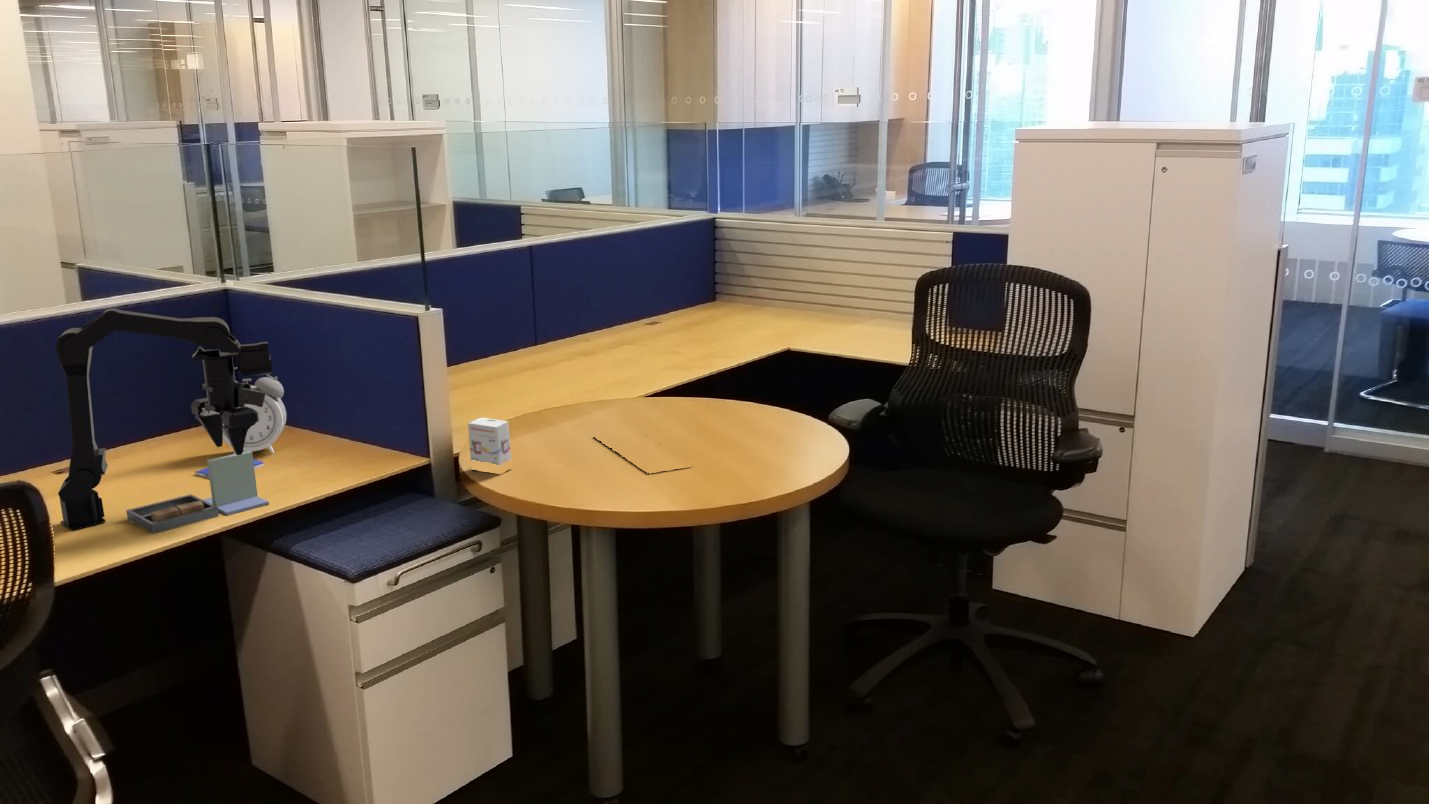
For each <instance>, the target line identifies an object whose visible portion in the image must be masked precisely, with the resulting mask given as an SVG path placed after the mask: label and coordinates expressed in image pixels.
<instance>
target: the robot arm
mask: <svg viewBox="0 0 1429 804" xmlns="http://www.w3.org/2000/svg"><path fill="white" fill-rule="evenodd" d="M115 331H121V332H129V333H136V334H143V335H152V336H159V337H168V338H173V339H179V340H184V341H186V342H188V343H191V344H193V345H197V346H198V347H197V348H198V349H197V350H196V351H195V352H194V353H193V354H192V355H191V360H192V361H202V366H203V374H204V382H205V383H201V386H202V390H205V391H206V396H207V397H203V398H199V399H194V400H193V401H192V403H191V404H190V408H191V409H190V410H191V414H193V415H194V416H195V419H197V420H198V421H199V424H201V426H202V428H203V429H204V430H205V432H206V433H207V434H208V436H209V438H210V439H211V441H212V443H213V444H214V445H215V446H216V448H221V447H223V444H224V443H223V442H224V440H223V429H224V431H225V433H226V435H227V437H228V439H229V441H230V443H231V445H232V447H231V448H232V450H233V452H234V451H235V453H236V455H241V454H242V453H243V452H244V451H243V448H244V443H245V438H246V434H247V431H248V429H249V428H250V427H251V426H253V425H255V424H256V422H258V421H259V416H258V412H257V411H255V410H254V409H252V408H249V407H244V406H245V404H250V405H257V406H258V407H263V403H264V399H265V394H266V393H264V392H261V391H258V390H254V389H251V386H252V385H251V384H249V383H248V384H247V383H246V382H239V381H237V380H236V376H235V369H234V368H235V366H234V359H233V358H235V360H236V367H237V369H236V370H237V373H240V374H243V377H252V376H254V377H255V376H263V375H266V374H268V375H272V374H273V367H272V360H271V359H272V358H271V355H270V349H269V342H267V341H260V342H258V343H246V344H241V342H239V340H238V339H236V337H235V336H234V335H232V334H231V332H230V327H229V325H228V324H227V323H226V321H225V320H224V319H222V318H220V317H217V316H216V317H215V316H207V317H206V316H205V317H201V316H198V317H189V318H188V317H187V318H179V317H171V316H164V315H160V314H159V315H158V314H151V313H143V312H138V311H137V312H135V311H129V310H122V309H118V308H115V307H111V308H107V309H106V310H104V312H102V314H100V315H97V316H96V317H95V318H93V319H92V320H90V321H88V322H87V323H85V324H84V325H83V326H81V327H73V328H72V327H71V328H68V329H66V330H65V331H63V333H62V334H61V335H60V336H59V338H58V339H57V341H56V343H55V351H56V355H57V357H58V361H59V364H60V366H61V368H62V371H63V374H64V376H65V379H66V388H67V399H68V409H69V418H70V421H69V422H70V429H71V441H72V448H71V454H70V460H69V469H68V476H67V477H66V478H65V479H64V480H63V482H62V485H61V486H60V489H59V491H58V492H57V495H58V496H59V502H60V510H61V515H62V520H60V524H61V525H62V526H64V527H66V528H67V529H68V530H70V531H76V530H79V529H83V528H87V527H92V526H95V525H99V524H104V523H106V519H105V518H104V517H105V511H104V510H105V509H104V504H103V499H102V498H101V497H100V496H99V492H98V491H97V490H94V489H95V488H96V487H97V486H99V484H100V482H101V481H102V478H103V476H104V475H106V472H107V470H108V469H107V468H108V466H109V465H108V463H107V461H106V454H107V453H106V452H107V451H106V449H107V448H106V447H101V448H99V447H98V445H97V443H96V439H95V429H94V419H93V418H94V417H93V406H92V395H91V386H90V385H91V384H90V370H91V369H90V367H91V363H92V362H91V361H92V354H93V347H94V346H95V345H96V344H98V343H99V342H101V341H102V340H103V339H104V338H106V337H107V336H108V335H110V334H111V333H113V332H115ZM204 348H207V349H204ZM220 349H221V350H222V351H224V352H221V350H220ZM236 381H237V382H236ZM236 407H241V408H236ZM223 424H224V425H225V426H223Z"/></svg>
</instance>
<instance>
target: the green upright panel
mask: <svg viewBox="0 0 1429 804" xmlns="http://www.w3.org/2000/svg"><path fill="white" fill-rule="evenodd" d="M253 454H254V453H253V452H251V451H243V453H242V454H241V455H236V454H234V453H233V454H232V453H231V454H228V455H224V456H220V457H215V458H211V459H207V460H206V463H207V468H208V471H209V478H208V479H209V485H210V486H209V487H210V493H211V494H210V495H211V498H212V502H213V505H214V506H216V507H218V506H222V505H226V504H230V503H234V502H237V501H241V500H245V499H249V498H253V497H259V496H258V489H257V480H256V472H255V469H254V461H253V459H254V455H253Z"/></svg>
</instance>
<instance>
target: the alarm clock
mask: <svg viewBox="0 0 1429 804" xmlns="http://www.w3.org/2000/svg"><path fill="white" fill-rule="evenodd" d="M234 370H238V369H237V366H236V367H235V366H234ZM265 375H266V376H262V377H259V378H258V379H256V380H255V382H254V385H250V386H251V389H254V390H258V391H261V392H264V393H266V394H265V399H264V403H263V407H258V406H257V405H250V404H245V406H244V407H249V408H252V409H254V410H255V411H257V412H258V416H259V421H258V422H256V424H255V425H253V426H251V427H250V428H249V429H248V431H247V434H246V438H245V443H244V448H243V452H245V451H251V452H252V453H253V452H258V451H262V450H264V449H266V448H267V449H268V450H269V451H270V453H272V454H273V455H274V454H275V451H274V448H273V446H272V444H273V443H275V442H276V441H277V440H278V438H279V437H280V435H281V433H282V432H283V431H284V429H285V426H286V423H287V410H286V407H285V405H284V403H283V400H282V398H283V396H284V393H285V390H284V387H283V385H282V383H281V382H280V381H278V376H274V377H273V376H272V375H271V374H265ZM235 381H236V382H238V381H237V380H235ZM249 382H252V378H242V383H247V384H249ZM236 408H241V407H236ZM223 426H225V425H224V424H223ZM223 442H224V443H226V444H227V445H228V446H230V447H231V448H233V447H232V445H231V443H230V441H229V439H228V437H227V435H226V433H225V431H224V429H223ZM233 454H236V453H235V451H234V450H233Z"/></svg>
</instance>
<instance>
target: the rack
mask: <svg viewBox="0 0 1429 804" xmlns="http://www.w3.org/2000/svg"><path fill="white" fill-rule="evenodd" d="M195 501H200V502H201V503H203V504H204V509H202V510H198V511H194V512H190V513H186V514H182V515H179V516H175V517H171V518H167V519H163V520H159V521H155V522H152V518H151V512H155V511H159V510H162V509H166V508H170V507H174V508H176V509H177V505H182V504H186V503H191V502H195ZM125 511H126V518H127V519H126V520H128V521H129V522H131V523H133V524H135V525H136V526H138V527H140V528H141V529H144V530H146V531H147V532H148V533H151V534H157V533H160V532H166V531H168V530H172V529H175V528H179V527H183V526H187V525H190V524H191V525H192V524H195V523H198V522H201V521H206V520H208V519H209V520H210V519H213V518H216V517H217V518H218V517H219V516H220V515H219V511H218V507H216V506H214V505H212V504H210V503H208V502H206V501H204V499H202V498H200V497H198V496H196V495H194V494H191V493H190V494H186V495H183V496H178V497H174V498H171V499H166V500H163V501H158V502H154V503H150V504H146V505H141V506H138V507H134V508H130V509H126V510H125Z"/></svg>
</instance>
